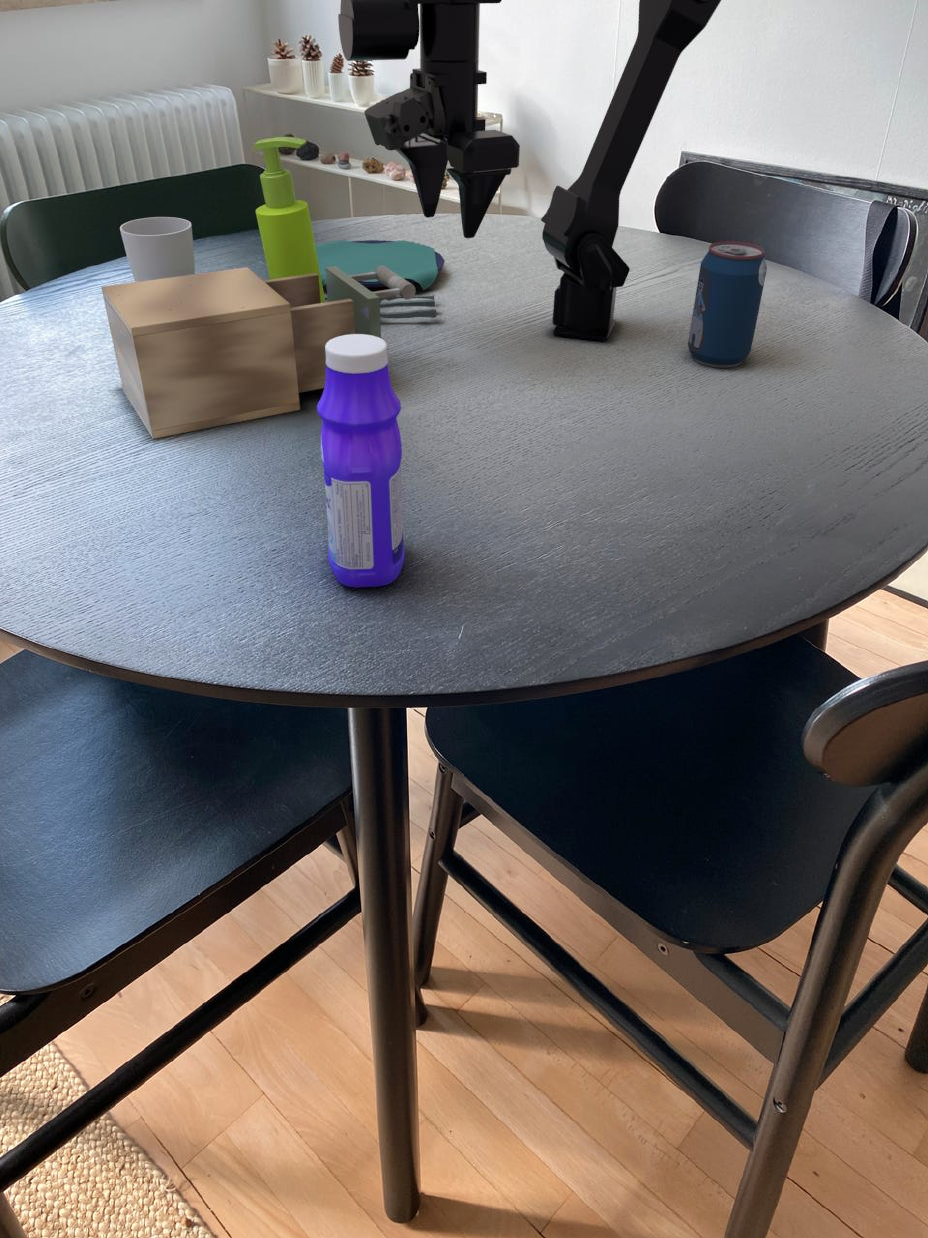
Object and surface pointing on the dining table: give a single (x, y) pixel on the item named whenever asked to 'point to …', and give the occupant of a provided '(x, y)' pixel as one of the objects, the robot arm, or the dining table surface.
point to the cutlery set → (395, 256)
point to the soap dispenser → (285, 218)
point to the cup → (159, 247)
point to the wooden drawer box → (203, 350)
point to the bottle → (361, 462)
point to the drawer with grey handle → (333, 314)
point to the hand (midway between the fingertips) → (448, 226)
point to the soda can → (727, 303)
